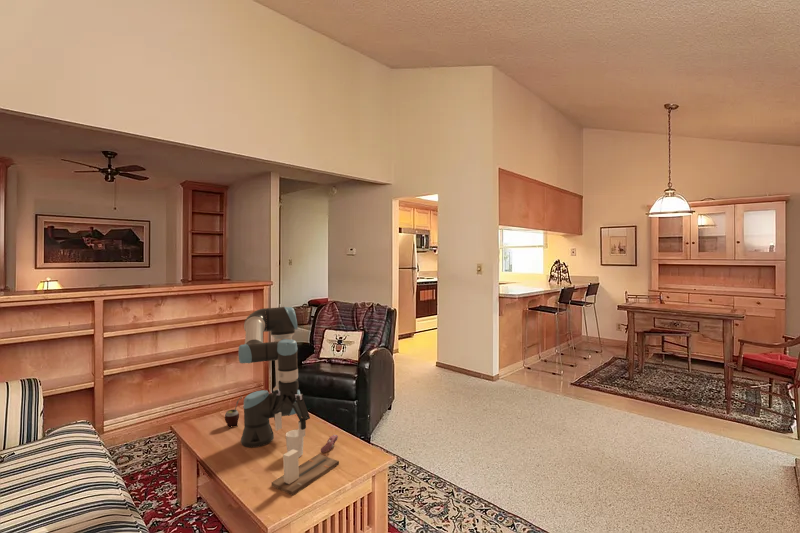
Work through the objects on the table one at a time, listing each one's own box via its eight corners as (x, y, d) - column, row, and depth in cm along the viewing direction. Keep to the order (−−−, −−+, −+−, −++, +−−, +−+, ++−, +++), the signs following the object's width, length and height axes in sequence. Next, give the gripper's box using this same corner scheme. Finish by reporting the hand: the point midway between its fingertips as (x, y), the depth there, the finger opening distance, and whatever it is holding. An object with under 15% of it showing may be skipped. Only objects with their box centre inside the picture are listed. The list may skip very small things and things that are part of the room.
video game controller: (327, 457, 184) (333, 444, 183) (319, 451, 184) (325, 439, 184) (335, 446, 193) (341, 434, 193) (327, 441, 194) (333, 429, 193)
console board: (271, 486, 159) (271, 482, 159) (319, 457, 181) (318, 453, 181) (292, 495, 152) (292, 491, 152) (339, 464, 174) (338, 460, 174)
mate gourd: (222, 428, 213) (221, 400, 212) (231, 422, 221) (230, 395, 220) (234, 429, 211) (233, 401, 211) (243, 423, 219) (242, 395, 218)
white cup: (307, 451, 186) (306, 430, 185) (297, 460, 178) (297, 438, 178) (292, 449, 188) (292, 428, 188) (282, 457, 181) (282, 435, 181)
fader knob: (284, 481, 158) (283, 454, 158) (293, 475, 163) (293, 449, 162) (289, 484, 157) (288, 456, 156) (299, 478, 161) (298, 451, 161)
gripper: (260, 377, 162) (261, 429, 163) (303, 387, 148) (305, 444, 149) (275, 372, 168) (276, 422, 169) (318, 382, 154) (319, 436, 155)
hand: (290, 433), depth 159 cm, fingers open, 13 cm apart
